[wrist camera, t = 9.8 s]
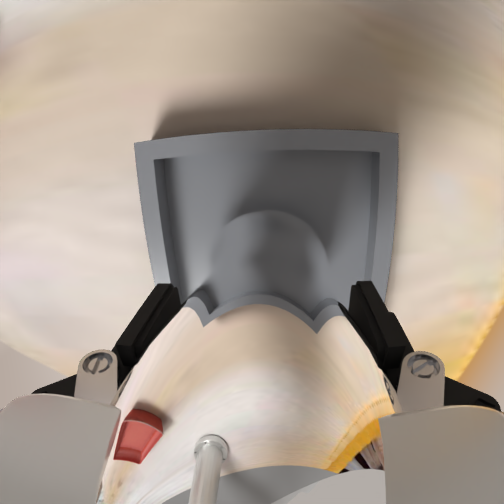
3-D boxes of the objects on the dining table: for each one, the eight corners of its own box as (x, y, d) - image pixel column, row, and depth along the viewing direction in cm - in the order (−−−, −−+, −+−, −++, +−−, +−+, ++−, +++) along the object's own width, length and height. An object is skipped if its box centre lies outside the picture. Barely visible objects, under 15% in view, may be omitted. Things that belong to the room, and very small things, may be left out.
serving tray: (150, 141, 16) (134, 142, 14) (383, 132, 15) (398, 133, 13) (182, 344, 21) (174, 364, 19) (364, 344, 20) (371, 364, 18)
